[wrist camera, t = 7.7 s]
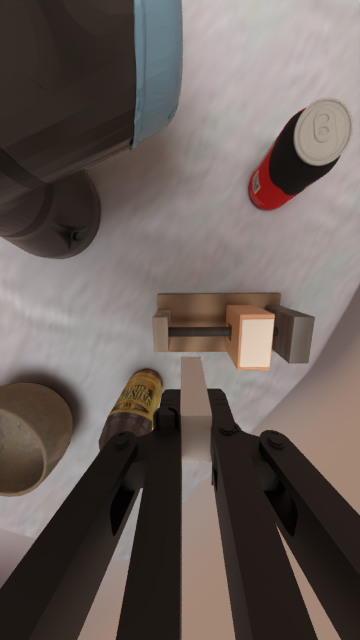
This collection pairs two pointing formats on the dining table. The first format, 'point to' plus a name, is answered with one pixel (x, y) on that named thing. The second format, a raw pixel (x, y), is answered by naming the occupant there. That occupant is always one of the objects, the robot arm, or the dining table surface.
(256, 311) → the sleeve
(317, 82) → the dining table surface
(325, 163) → the beverage can
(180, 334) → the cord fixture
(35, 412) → the bowl
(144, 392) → the sauce bottle
